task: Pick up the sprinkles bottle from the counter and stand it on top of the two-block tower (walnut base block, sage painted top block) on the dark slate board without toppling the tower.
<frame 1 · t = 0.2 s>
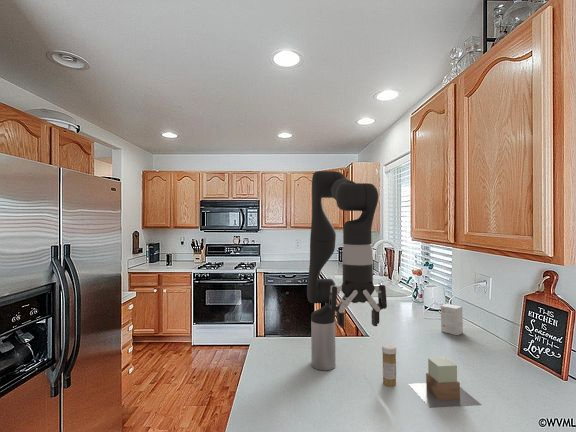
hand: (358, 326, 82), 29 cm above the counter, fingers open, 8 cm apart
small box: (452, 332, 163), on the counter
slate board: (442, 396, 103), on the counter
sage top block: (442, 377, 103), point 6 cm above the counter, touching walnut base block
walnut base block: (442, 393, 103), point 1 cm above the counter, touching sage top block, slate board
sprinkles bottle: (389, 387, 109), on the counter
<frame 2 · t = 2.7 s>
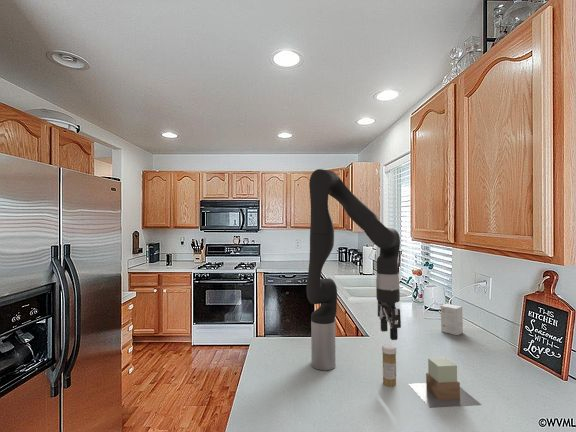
hand: (388, 335, 110), 17 cm above the counter, fingers open, 8 cm apart
nothing on the counter moved.
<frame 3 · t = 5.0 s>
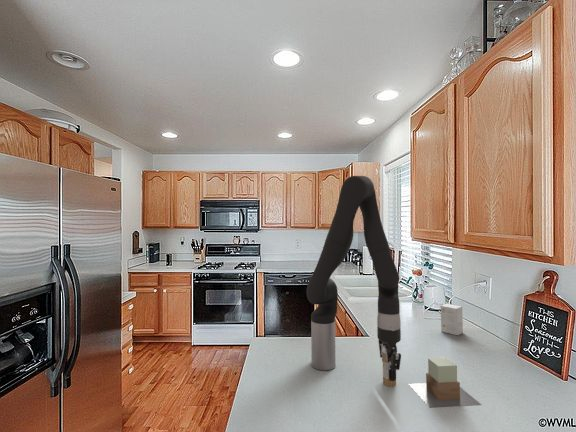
hand: (389, 376, 109), 3 cm above the counter, fingers closed on sprinkles bottle, 4 cm apart
sprinkles bottle: (389, 387, 109), on the counter, touching gripper
everything else where it was.
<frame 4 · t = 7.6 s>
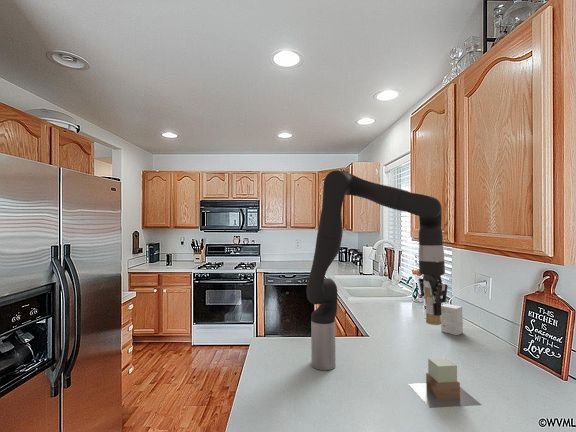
hand: (433, 313, 103), 26 cm above the counter, fingers closed on sprinkles bottle, 4 cm apart
sprinkles bottle: (433, 324, 103), point 23 cm above the counter, touching gripper
everything else where it was.
when the fingers open (16 cm above the counter, at t = 10.4 s): sprinkles bottle drops 1 cm, resting on sage top block.
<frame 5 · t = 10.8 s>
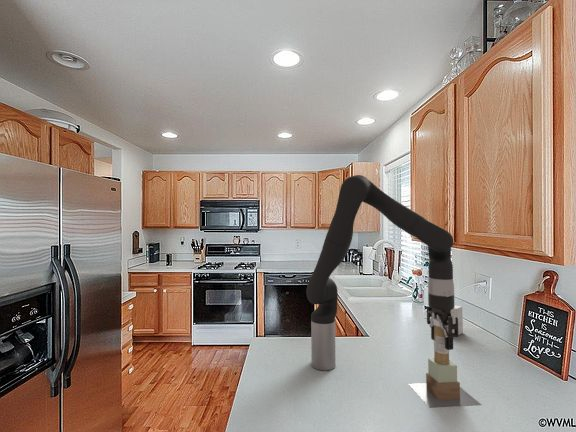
hand: (441, 344, 103), 16 cm above the counter, fingers open, 7 cm apart
sage top block: (442, 377, 103), point 6 cm above the counter, touching sprinkles bottle, walnut base block
sprinkles bottle: (441, 362, 103), point 11 cm above the counter, touching sage top block
everything else where it was.
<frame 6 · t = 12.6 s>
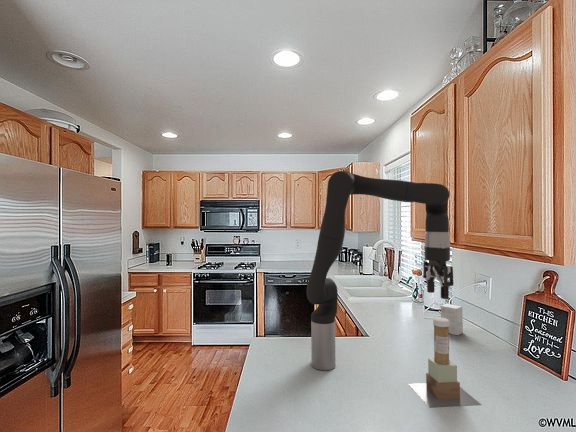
hand: (437, 295, 106), 31 cm above the counter, fingers open, 8 cm apart
nothing on the counter moved.
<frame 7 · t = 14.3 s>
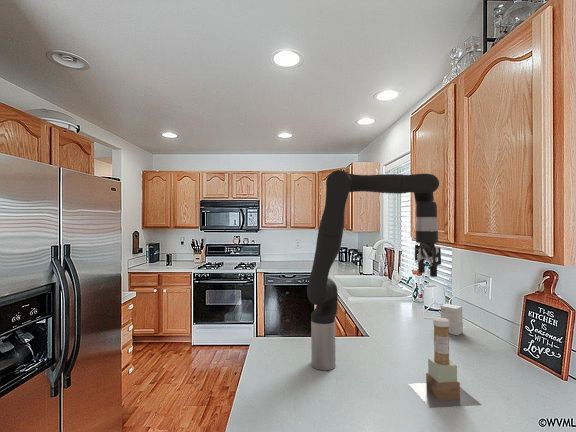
hand: (427, 274, 118), 36 cm above the counter, fingers open, 8 cm apart
nothing on the counter moved.
at the end: sprinkles bottle 0.1 cm off-centre on the sage top block, point 4.8 cm above the sage top block's base; sprinkles bottle tilted 0°; sage top block moved 0.1 cm from its start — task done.
